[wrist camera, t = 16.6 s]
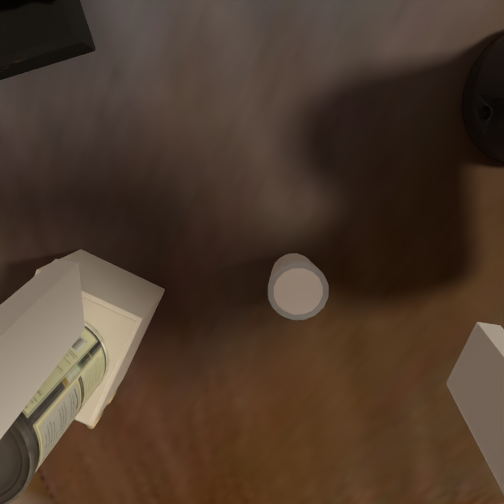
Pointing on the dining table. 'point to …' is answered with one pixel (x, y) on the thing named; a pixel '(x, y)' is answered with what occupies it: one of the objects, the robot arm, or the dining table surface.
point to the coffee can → (51, 412)
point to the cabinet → (113, 320)
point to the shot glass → (297, 287)
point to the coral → (41, 34)
